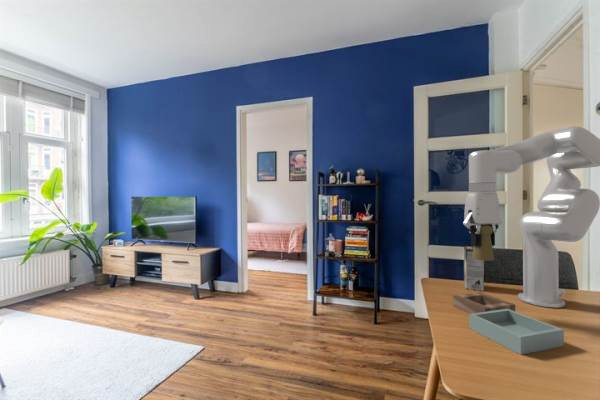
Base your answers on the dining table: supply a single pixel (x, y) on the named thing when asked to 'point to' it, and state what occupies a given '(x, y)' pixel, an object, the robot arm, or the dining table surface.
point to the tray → (516, 331)
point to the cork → (484, 245)
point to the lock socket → (480, 303)
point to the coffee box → (473, 270)
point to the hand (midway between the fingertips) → (482, 245)
